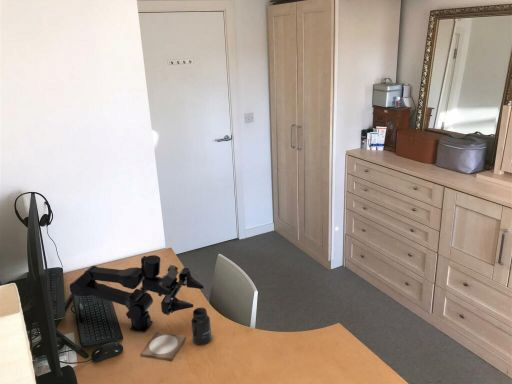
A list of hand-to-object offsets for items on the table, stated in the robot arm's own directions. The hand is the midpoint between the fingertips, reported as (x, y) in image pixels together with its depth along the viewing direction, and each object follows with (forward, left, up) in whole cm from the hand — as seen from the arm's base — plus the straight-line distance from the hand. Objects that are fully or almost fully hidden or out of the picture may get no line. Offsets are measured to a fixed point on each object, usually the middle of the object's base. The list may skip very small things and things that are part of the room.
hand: (198, 296), depth 158 cm
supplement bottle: (+1, -2, -17) cm, 17 cm away
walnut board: (-11, -9, -17) cm, 22 cm away
